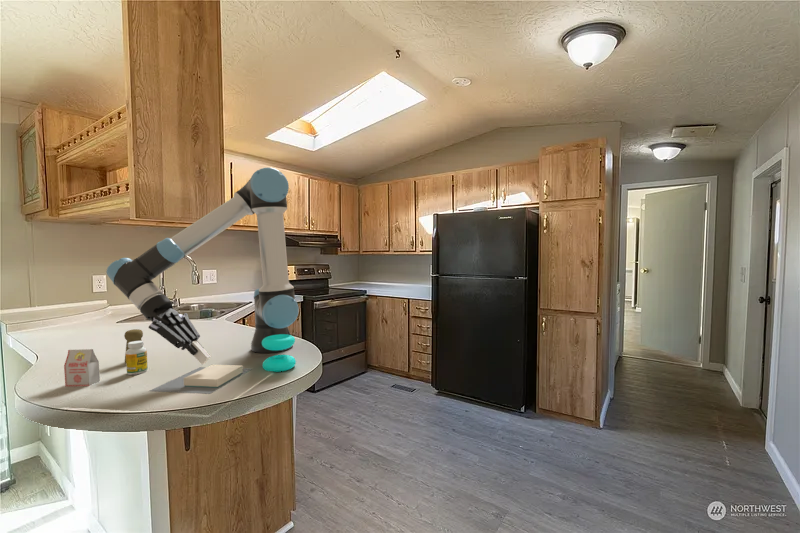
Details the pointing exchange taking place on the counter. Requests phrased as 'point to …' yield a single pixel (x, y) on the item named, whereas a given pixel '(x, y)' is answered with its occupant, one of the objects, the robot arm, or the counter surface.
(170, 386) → the mat
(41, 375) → the counter surface
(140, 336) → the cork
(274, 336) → the donuts
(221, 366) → the tile
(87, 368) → the white gable carton
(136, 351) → the supplement bottle
